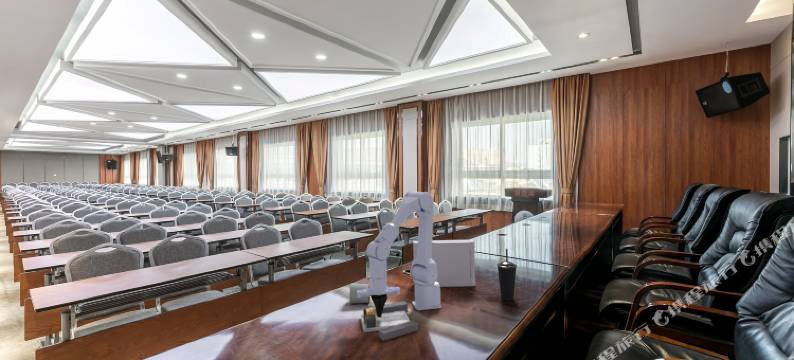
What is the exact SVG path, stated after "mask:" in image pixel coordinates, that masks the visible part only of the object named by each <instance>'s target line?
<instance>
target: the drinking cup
mask: <svg viewBox="0 0 794 360" xmlns="http://www.w3.org/2000/svg"><path fill="white" fill-rule="evenodd" d="M508 253H509V252H508V248H505V261H500V262H498V263H497V264H496V266H497V270H498V271H497V272H498V273H497V274H498V281H499V290H500V299H501V300H502V301H506V302H510V301H511V302H512V301H514V300H515V289H516V275H517V267H518V265H517V264H516V263H514V262H512V261H509V256H508V255H509V254H508Z"/></svg>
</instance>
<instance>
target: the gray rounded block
mask: <svg viewBox="0 0 794 360" xmlns="http://www.w3.org/2000/svg"><path fill="white" fill-rule="evenodd" d="M368 288H370V284H369V283H368V284H367V283H353V282H351V283H350V285H349V298H348V299H349V304H351V305H352V304H367V303H370V302H371V296H366V297H361V298H358V297H357V290H364V289H368Z"/></svg>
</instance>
